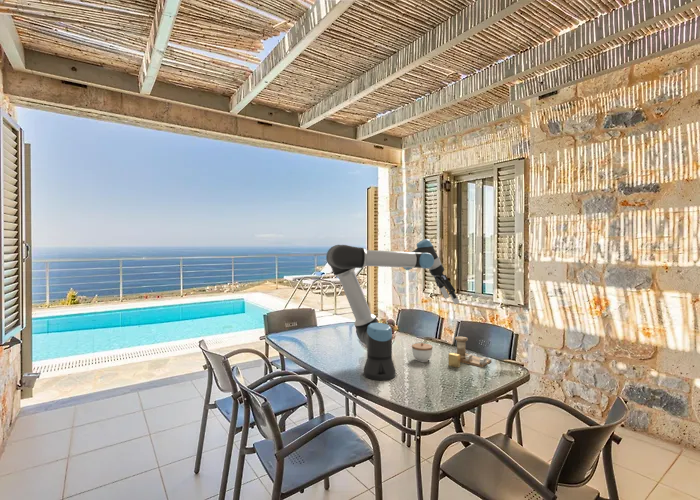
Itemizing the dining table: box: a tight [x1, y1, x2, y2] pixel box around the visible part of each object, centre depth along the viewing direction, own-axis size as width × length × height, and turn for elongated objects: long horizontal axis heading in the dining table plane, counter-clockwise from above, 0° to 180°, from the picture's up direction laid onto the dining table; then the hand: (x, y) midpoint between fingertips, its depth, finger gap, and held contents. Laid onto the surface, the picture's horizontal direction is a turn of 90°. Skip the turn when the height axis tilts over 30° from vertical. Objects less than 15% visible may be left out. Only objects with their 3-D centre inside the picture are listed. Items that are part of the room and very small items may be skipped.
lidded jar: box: [411, 342, 433, 363], centre depth 189 cm, size 11×11×9 cm
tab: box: [448, 352, 461, 368], centre depth 180 cm, size 3×5×6 cm, turn 47°
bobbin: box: [454, 335, 470, 359], centre depth 192 cm, size 8×8×10 cm
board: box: [460, 353, 492, 368], centre depth 189 cm, size 12×18×4 cm, turn 47°
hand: (452, 300), depth 192 cm, fingers open, 13 cm apart
